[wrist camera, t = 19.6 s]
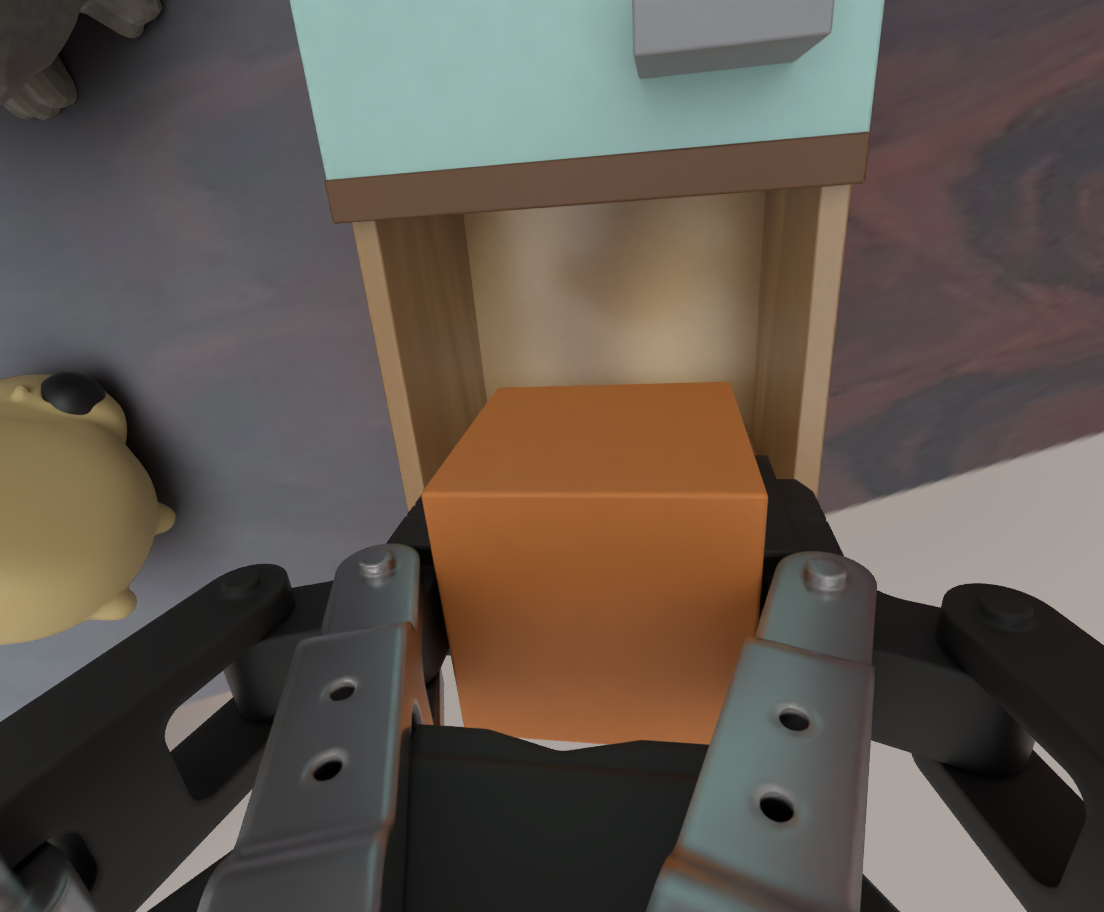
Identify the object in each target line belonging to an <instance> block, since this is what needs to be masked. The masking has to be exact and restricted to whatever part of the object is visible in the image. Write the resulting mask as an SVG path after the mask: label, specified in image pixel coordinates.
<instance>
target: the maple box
mask: <svg viewBox="0 0 1104 912" xmlns="http://www.w3.org/2000/svg"><path fill="white" fill-rule="evenodd" d="M850 193H851V184H849V185H836V186H823V187H810V188H797V189H784V190H771V191H758V192H745V193H731V194H718V195H705V196H692V197H679V198H666V199H653V200H640V201H626V202H613V203H600V204H587V205H574V206H561V207H548V208H535V209H522V210H508V211H495V212H482V213H469V214H456V215H443V216H430V217H417V218H404V219H390V220H377V221H364V222H352V226H353V231H354V236H355V241H356V246H357V251H358V256H359V261H360V267H361V272H362V277H363V282H364V287H365V292H366V297H367V302H368V307H369V312H370V318H371V323H372V328H373V333H374V338H375V343H376V348H377V353H378V358H379V363H380V368H381V374H382V379H383V384H384V389H385V394H386V399H387V404H388V409H389V414H390V419H391V425H392V430H393V435H394V440H395V445H396V450H397V455H398V460H399V465H400V470H401V476H402V481H403V486H404V491H405V496H406V501H407V506H408V511H410V510H411V508H412V507H413V506H415V503H416V501H417V500H418V498H419V497H420V496H421V494H422V492H423V490H424V489H425V487H426V486H427V485H428V483H429V482H430V480H431V479H432V478H433V476H434V475H435V474H436V472H437V471H438V469H439V468H440V467H441V465H442V464H443V463H444V461H445V460H446V458H447V457H448V456H449V454H450V453H451V452H452V450H453V449H454V447H455V446H456V445H457V443H458V442H459V441H460V439H461V438H462V436H463V435H464V434H465V432H466V431H467V430H468V428H469V427H470V425H471V424H472V423H473V421H474V420H475V418H476V417H477V416H478V414H479V413H480V412H481V410H482V409H483V407H484V406H485V405H486V403H487V402H488V401H489V399H490V398H491V396H492V395H493V394H494V392H495V391H496V390H497V389H498V388H502V387H541V386H580V385H619V384H658V383H696V382H729V383H730V384H731V387H732V390H733V393H734V396H735V399H736V402H737V405H738V408H739V411H740V414H741V417H742V420H743V423H744V426H745V429H746V432H747V435H748V438H749V441H750V444H751V447H752V450H753V453H754V455H767V456H768V458H769V460H770V463H771V466H772V468H773V471H774V474H775V476H776V479H797V480H798V481H799V482H801V483H802V484H803V485H805V486H806V487H808V488H809V489H810V490H812V491H813V492H814V494H815V496H816V498H817V493H818V484H819V475H820V466H821V457H822V448H823V439H824V430H825V421H826V412H827V403H828V393H829V384H830V375H831V366H832V357H833V348H834V339H835V330H836V321H837V312H838V303H839V293H840V284H841V275H842V266H843V257H844V248H845V239H846V230H847V221H848V212H849V203H850Z"/></svg>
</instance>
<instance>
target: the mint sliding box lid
mask: <svg viewBox="0 0 1104 912" xmlns="http://www.w3.org/2000/svg"><path fill="white" fill-rule="evenodd" d="M884 1H885V0H290V5H291V10H292V14H293V19H294V24H295V29H296V34H297V39H298V44H299V48H300V53H301V58H302V63H303V68H304V73H305V77H306V82H307V87H308V92H309V97H310V102H311V107H312V111H313V116H314V121H315V126H316V131H317V136H318V140H319V145H320V150H321V155H322V160H323V165H324V170H325V174H326V179H327V180H326V181H325V185H326V190H327V195H328V200H329V204H330V209H331V214H332V219H333V222H334V223H336V224H338V223H351V222H364V221H377V220H390V219H404V218H417V217H430V216H443V215H456V214H469V213H482V212H495V211H508V210H522V209H535V208H548V207H561V206H574V205H587V204H600V203H613V202H626V201H640V200H653V199H666V198H679V197H692V196H705V195H718V194H731V193H745V192H758V191H771V190H784V189H797V188H810V187H823V186H836V185H849V184H862V183H864V181H865V177H866V168H867V160H868V151H869V143H870V132H869V129H870V121H871V112H872V104H873V95H874V86H875V78H876V69H877V61H878V52H879V44H880V35H881V27H882V18H883V9H884Z"/></svg>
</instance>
